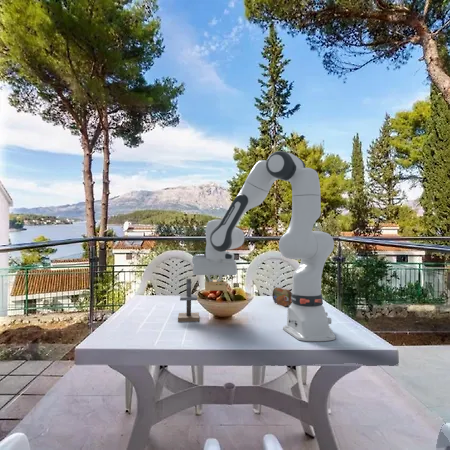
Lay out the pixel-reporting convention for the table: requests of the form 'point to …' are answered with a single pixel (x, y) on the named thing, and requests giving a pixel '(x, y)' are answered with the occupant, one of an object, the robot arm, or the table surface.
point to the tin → (282, 296)
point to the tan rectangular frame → (213, 285)
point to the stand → (188, 304)
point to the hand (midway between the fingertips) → (214, 284)
